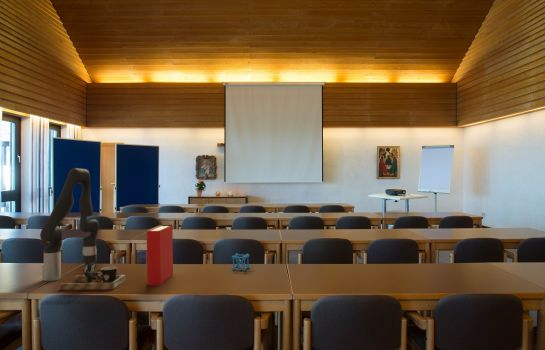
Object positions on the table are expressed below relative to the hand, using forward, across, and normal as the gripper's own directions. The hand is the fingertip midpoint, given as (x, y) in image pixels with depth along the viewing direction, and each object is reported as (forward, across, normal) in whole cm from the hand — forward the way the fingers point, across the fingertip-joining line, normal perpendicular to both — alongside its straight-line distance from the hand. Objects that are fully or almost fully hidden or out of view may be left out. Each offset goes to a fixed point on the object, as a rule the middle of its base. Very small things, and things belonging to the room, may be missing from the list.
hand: (89, 282), depth 242 cm
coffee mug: (+1, 0, +11) cm, 11 cm away
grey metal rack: (+1, -4, +3) cm, 5 cm away
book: (+1, -11, +39) cm, 40 cm away
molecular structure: (+1, -35, +87) cm, 94 cm away
